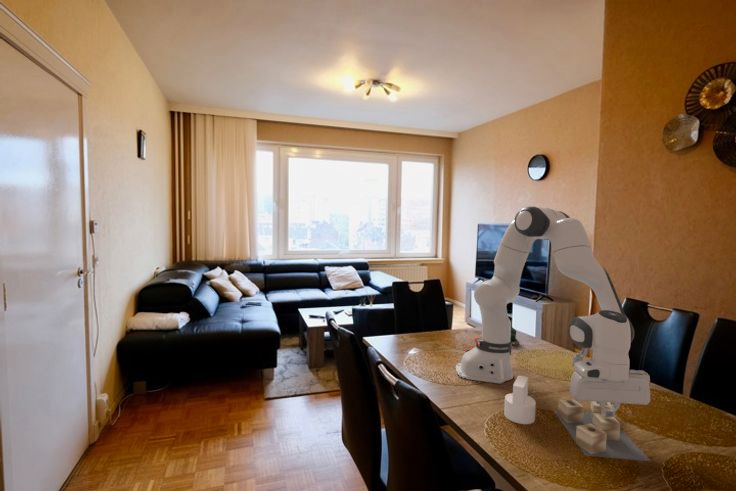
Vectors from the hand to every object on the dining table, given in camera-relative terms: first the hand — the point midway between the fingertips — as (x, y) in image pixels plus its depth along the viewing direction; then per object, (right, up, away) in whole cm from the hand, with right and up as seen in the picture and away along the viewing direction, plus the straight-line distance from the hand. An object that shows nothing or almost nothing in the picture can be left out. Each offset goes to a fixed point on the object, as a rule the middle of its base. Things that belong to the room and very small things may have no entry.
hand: (608, 415), depth 108 cm
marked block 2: (+4, -5, +10) cm, 12 cm away
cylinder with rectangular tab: (-21, -6, +10) cm, 24 cm away
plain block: (0, -6, +1) cm, 6 cm away
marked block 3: (-8, -6, -5) cm, 12 cm away
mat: (-2, -6, +2) cm, 7 cm away
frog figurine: (+2, -1, +85) cm, 85 cm away
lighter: (+23, -3, +55) cm, 60 cm away
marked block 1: (-6, -5, +9) cm, 12 cm away
